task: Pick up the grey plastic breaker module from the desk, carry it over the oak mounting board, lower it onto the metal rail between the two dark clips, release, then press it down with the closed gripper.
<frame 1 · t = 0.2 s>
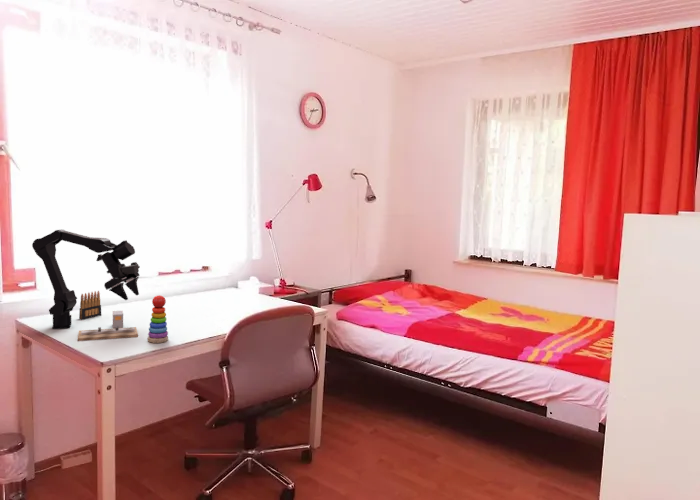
hand: (132, 297, 220), 15 cm above the table, tool tilted 30°, fingers open, 9 cm apart
ammunition clip: (90, 317, 241), on the table
rail base: (108, 334, 214), on the table
stacking toy: (157, 341, 210), on the table
module: (117, 326, 227), on the table
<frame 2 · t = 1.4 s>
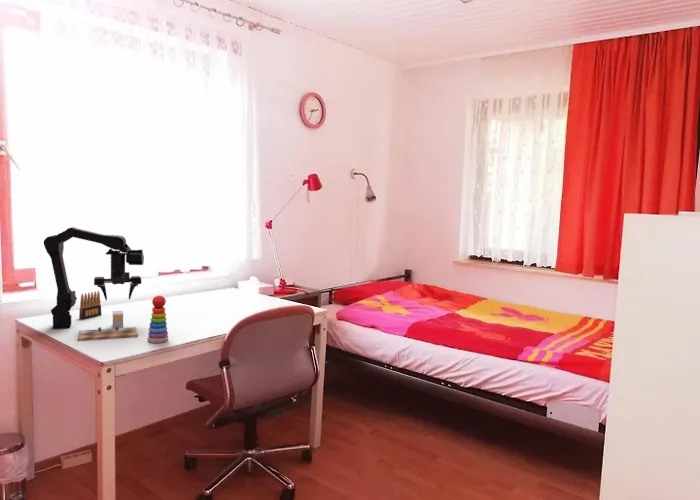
hand: (117, 299, 226), 12 cm above the table, tool pointing down, fingers open, 9 cm apart
nothing on the table moved.
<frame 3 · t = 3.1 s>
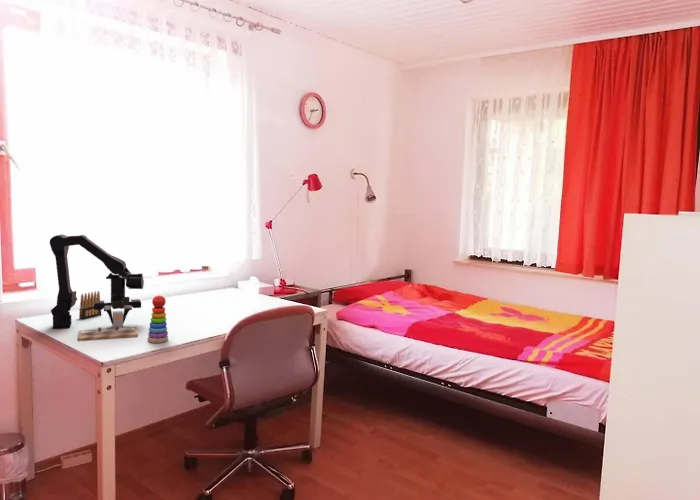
hand: (117, 323, 227), 1 cm above the table, tool pointing down, fingers closed on module, 4 cm apart
module: (117, 326, 227), on the table, touching gripper
everything else where it was.
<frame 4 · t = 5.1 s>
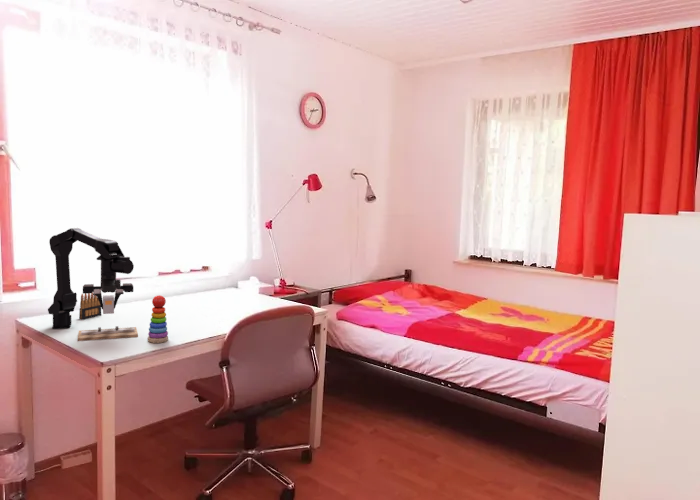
hand: (108, 308, 213), 11 cm above the table, tool pointing down, fingers closed on module, 4 cm apart
module: (108, 311, 213), point 10 cm above the table, touching gripper
everything else where it was.
when the fingers open (3 cm above the table, at t = 7.1 s): module stays where it is, resting on rail base.
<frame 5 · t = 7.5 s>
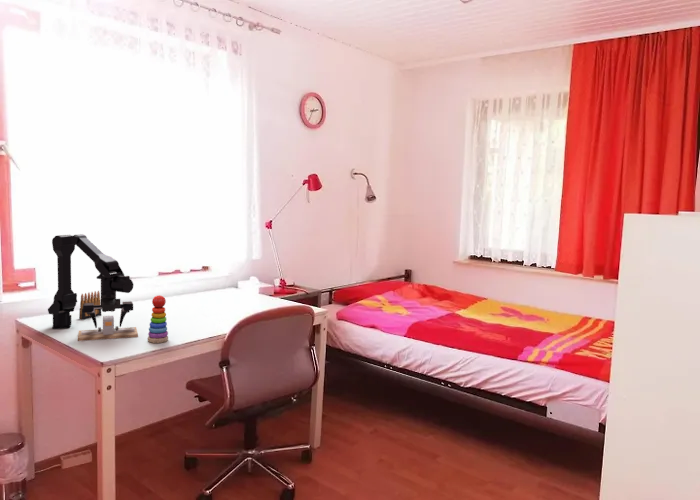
hand: (108, 327, 214), 3 cm above the table, tool pointing down, fingers open, 9 cm apart
module: (108, 332, 214), point 1 cm above the table, touching rail base
everything else where it was.
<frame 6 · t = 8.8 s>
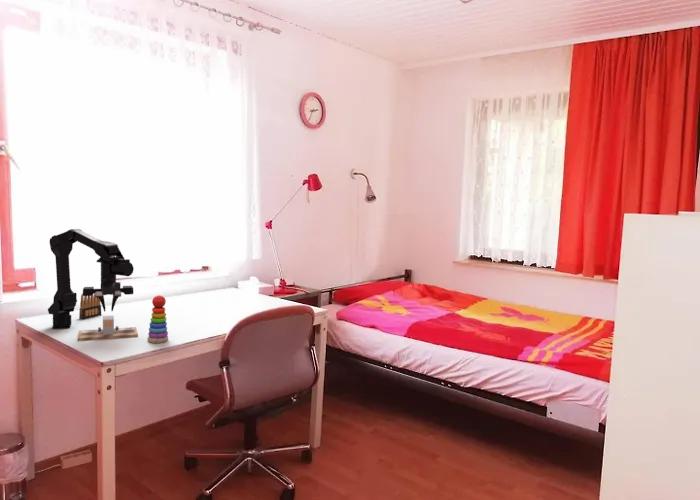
hand: (108, 311, 213), 10 cm above the table, tool pointing down, fingers closed
nothing on the table moved.
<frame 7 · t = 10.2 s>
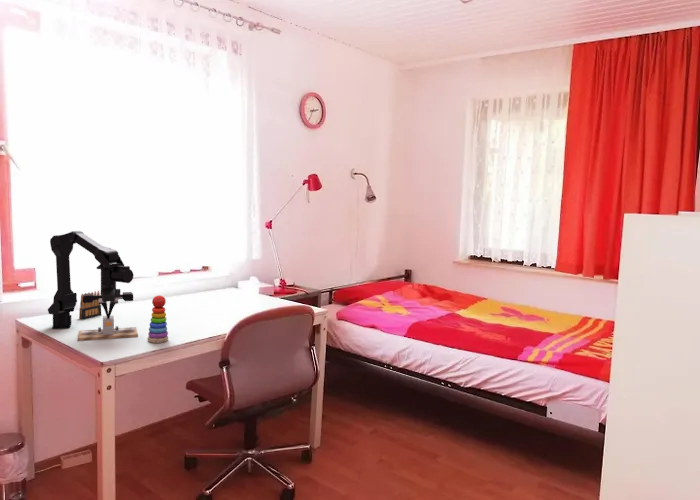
hand: (108, 317, 213), 7 cm above the table, tool pointing down, fingers closed
nothing on the table moved.
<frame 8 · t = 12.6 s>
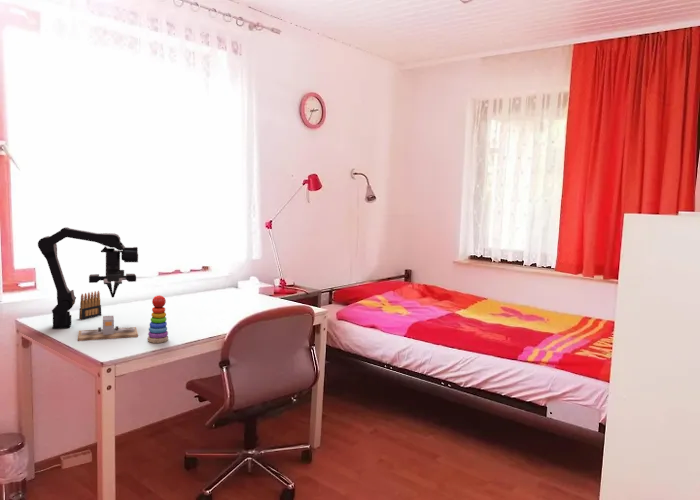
hand: (112, 297, 228), 13 cm above the table, tool pointing down, fingers closed
nothing on the table moved.
at the end: module 0.0 cm off-centre on the rail base, point 1.0 cm above the rail base's base; module tilted 0°; the gripper is holding nothing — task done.
